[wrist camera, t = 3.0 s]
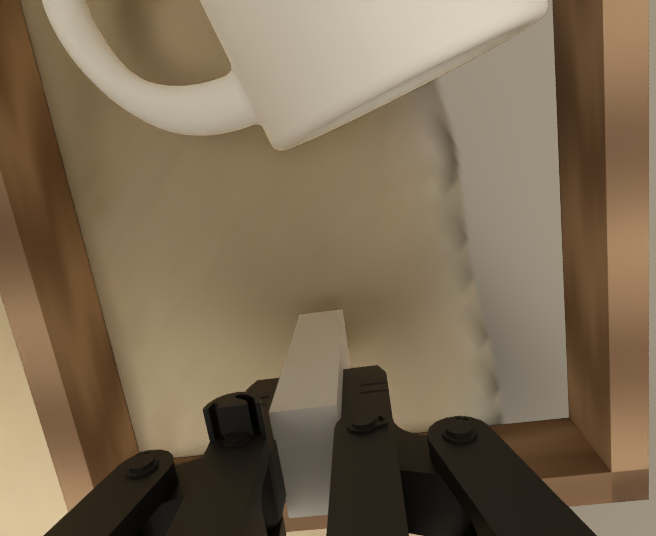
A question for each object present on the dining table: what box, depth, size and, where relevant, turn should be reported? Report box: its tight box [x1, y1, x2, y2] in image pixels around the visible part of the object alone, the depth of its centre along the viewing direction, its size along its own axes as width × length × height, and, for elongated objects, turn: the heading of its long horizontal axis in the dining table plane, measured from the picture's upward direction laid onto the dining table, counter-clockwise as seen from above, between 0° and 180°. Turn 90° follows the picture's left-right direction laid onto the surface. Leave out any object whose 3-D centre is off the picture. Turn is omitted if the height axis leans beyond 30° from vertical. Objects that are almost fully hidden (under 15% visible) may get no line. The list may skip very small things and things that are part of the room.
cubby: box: [0, 0, 649, 532], centre depth 17 cm, size 24×20×4 cm
